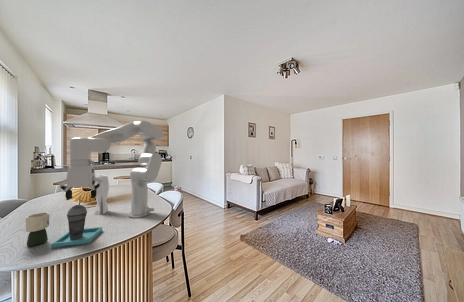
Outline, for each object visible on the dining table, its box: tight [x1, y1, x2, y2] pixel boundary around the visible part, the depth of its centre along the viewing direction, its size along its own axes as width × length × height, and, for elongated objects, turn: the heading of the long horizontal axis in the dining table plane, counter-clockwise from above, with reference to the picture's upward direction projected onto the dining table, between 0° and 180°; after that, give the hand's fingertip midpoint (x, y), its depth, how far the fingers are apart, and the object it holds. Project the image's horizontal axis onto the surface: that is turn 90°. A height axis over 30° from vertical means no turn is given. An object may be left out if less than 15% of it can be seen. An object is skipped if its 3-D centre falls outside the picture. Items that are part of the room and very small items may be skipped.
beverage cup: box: [66, 195, 88, 240], centre depth 82 cm, size 7×7×20 cm
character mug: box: [25, 211, 50, 247], centre depth 78 cm, size 11×7×13 cm, turn 64°
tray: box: [50, 226, 103, 249], centre depth 82 cm, size 14×14×2 cm
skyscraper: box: [93, 172, 111, 216], centre depth 118 cm, size 8×8×28 cm
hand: (81, 198), depth 83 cm, fingers open, 9 cm apart
